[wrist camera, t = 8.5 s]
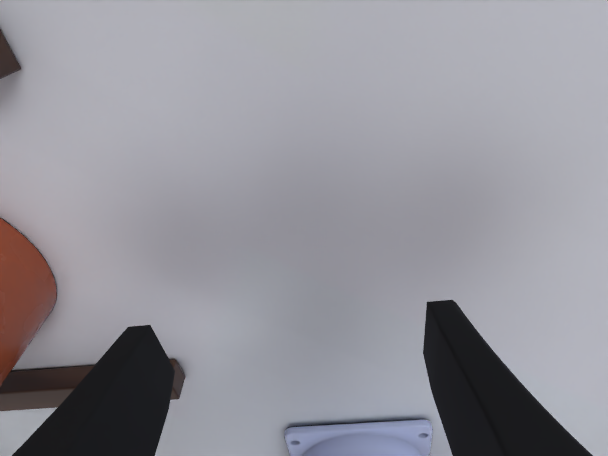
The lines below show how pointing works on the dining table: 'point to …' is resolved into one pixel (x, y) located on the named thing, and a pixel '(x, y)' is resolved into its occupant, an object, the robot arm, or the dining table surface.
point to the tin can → (21, 295)
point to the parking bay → (58, 381)
